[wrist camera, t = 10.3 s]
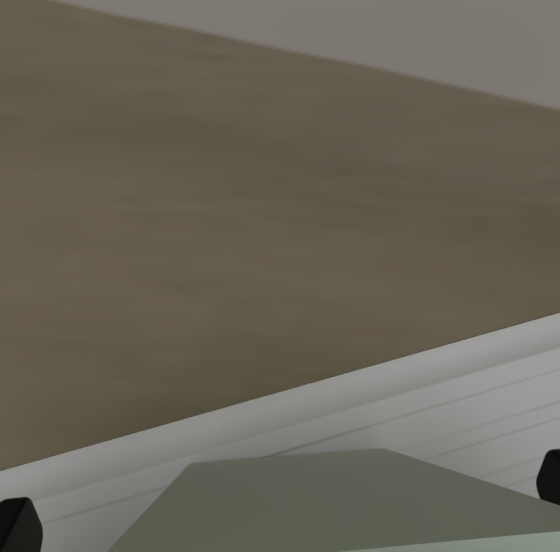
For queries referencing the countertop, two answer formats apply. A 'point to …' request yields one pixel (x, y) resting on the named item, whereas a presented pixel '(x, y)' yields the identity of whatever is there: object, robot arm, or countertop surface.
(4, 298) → the countertop surface
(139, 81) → the countertop surface
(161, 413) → the countertop surface
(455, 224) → the countertop surface
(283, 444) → the baseboard
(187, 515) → the pale green block
